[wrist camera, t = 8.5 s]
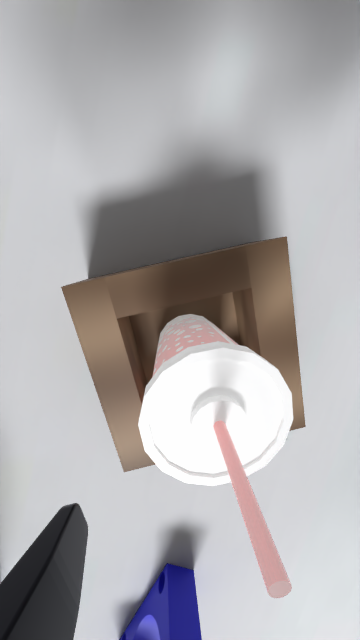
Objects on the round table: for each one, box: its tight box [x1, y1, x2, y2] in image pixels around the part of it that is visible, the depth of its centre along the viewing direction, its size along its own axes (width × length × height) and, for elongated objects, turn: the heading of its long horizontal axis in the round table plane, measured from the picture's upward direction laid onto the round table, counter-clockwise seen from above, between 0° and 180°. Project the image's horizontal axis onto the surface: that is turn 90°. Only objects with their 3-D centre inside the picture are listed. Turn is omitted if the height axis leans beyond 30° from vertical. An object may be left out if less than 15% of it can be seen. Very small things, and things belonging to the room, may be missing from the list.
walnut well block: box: [61, 237, 305, 472], centre depth 17 cm, size 12×12×5 cm
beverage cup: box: [138, 314, 293, 598], centre depth 12 cm, size 6×6×14 cm
